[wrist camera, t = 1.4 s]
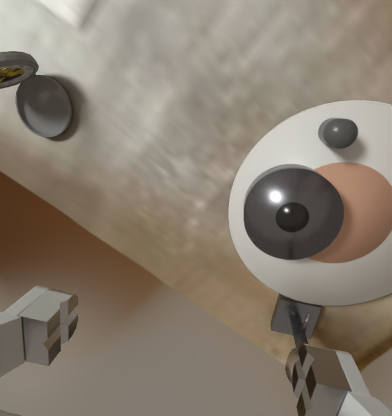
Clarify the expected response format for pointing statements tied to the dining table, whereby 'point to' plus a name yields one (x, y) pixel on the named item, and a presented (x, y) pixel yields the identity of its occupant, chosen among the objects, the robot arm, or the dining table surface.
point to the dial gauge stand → (294, 324)
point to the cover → (292, 212)
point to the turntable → (350, 194)
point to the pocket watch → (35, 95)
